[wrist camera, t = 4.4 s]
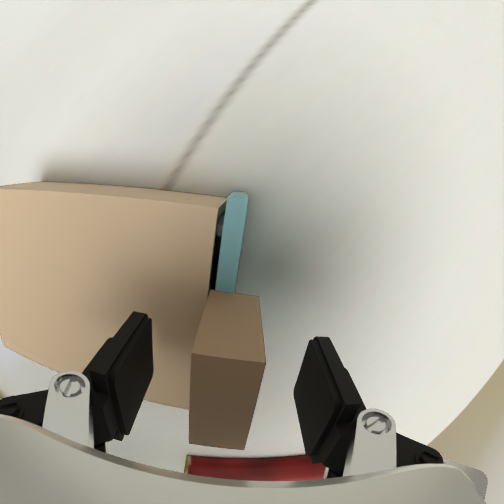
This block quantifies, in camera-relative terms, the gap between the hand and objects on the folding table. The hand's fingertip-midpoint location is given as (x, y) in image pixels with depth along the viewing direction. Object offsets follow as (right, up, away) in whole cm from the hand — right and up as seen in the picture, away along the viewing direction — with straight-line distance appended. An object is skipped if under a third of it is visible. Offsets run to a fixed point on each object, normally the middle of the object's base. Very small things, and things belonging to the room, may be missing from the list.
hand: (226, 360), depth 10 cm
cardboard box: (-9, +3, +8) cm, 12 cm away
